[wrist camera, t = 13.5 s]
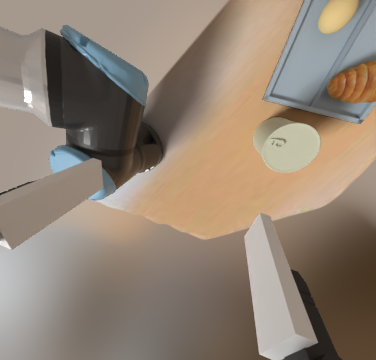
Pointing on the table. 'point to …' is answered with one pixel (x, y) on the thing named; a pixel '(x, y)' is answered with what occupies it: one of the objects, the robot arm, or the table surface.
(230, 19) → the table surface
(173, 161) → the table surface
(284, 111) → the table surface
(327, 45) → the sorting tray
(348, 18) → the ball
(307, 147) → the can
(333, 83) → the pastry
